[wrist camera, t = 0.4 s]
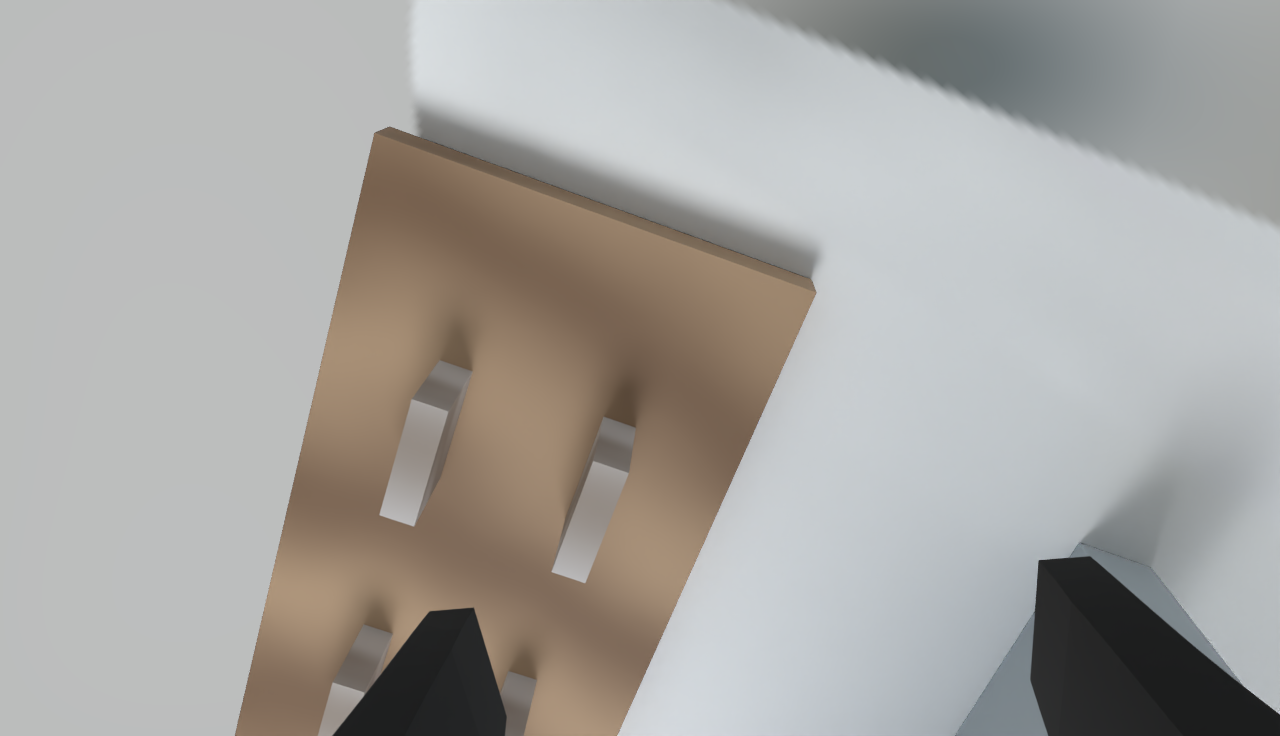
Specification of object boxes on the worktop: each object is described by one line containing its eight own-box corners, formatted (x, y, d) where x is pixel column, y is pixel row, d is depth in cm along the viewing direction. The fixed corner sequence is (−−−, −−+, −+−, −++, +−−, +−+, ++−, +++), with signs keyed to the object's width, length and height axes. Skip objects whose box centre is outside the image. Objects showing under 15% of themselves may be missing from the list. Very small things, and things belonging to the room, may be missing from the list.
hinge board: (551, 862, 28) (534, 963, 25) (237, 765, 28) (182, 858, 25) (811, 279, 21) (829, 326, 18) (389, 126, 20) (335, 149, 17)
